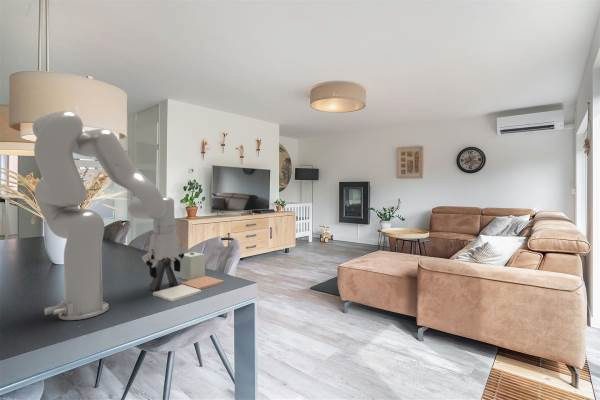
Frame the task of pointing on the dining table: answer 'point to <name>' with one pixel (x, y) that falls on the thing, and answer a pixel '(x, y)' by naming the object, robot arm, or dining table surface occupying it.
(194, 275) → the block
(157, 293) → the pad cream
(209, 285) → the pad terracotta
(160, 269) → the black a-frame stand
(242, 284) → the dining table surface
